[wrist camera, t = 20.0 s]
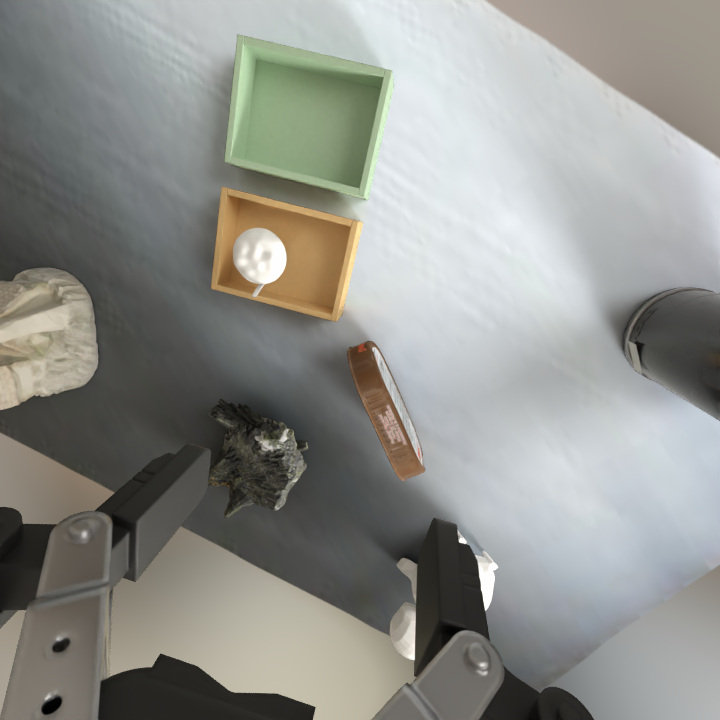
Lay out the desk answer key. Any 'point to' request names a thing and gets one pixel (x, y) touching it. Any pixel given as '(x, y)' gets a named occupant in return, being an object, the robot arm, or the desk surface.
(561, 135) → the desk surface
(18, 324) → the ceramic cottage
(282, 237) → the milkshake
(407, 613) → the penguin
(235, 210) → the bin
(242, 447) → the mineral specimen
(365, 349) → the tin
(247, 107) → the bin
